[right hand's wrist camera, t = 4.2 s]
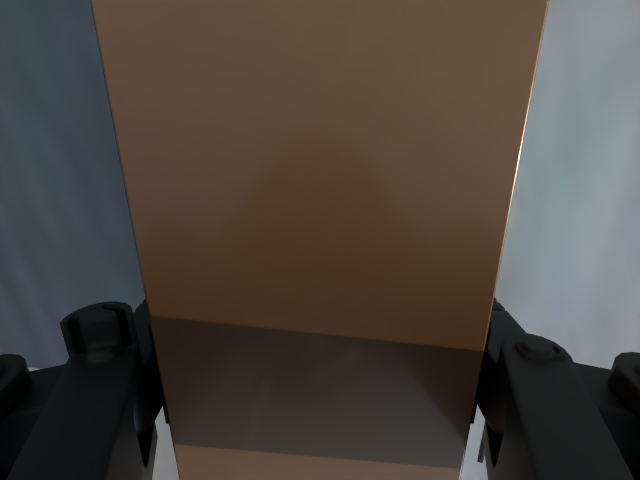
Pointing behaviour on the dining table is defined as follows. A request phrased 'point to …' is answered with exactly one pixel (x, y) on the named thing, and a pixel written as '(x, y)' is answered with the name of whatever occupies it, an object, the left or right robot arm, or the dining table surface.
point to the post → (319, 220)
